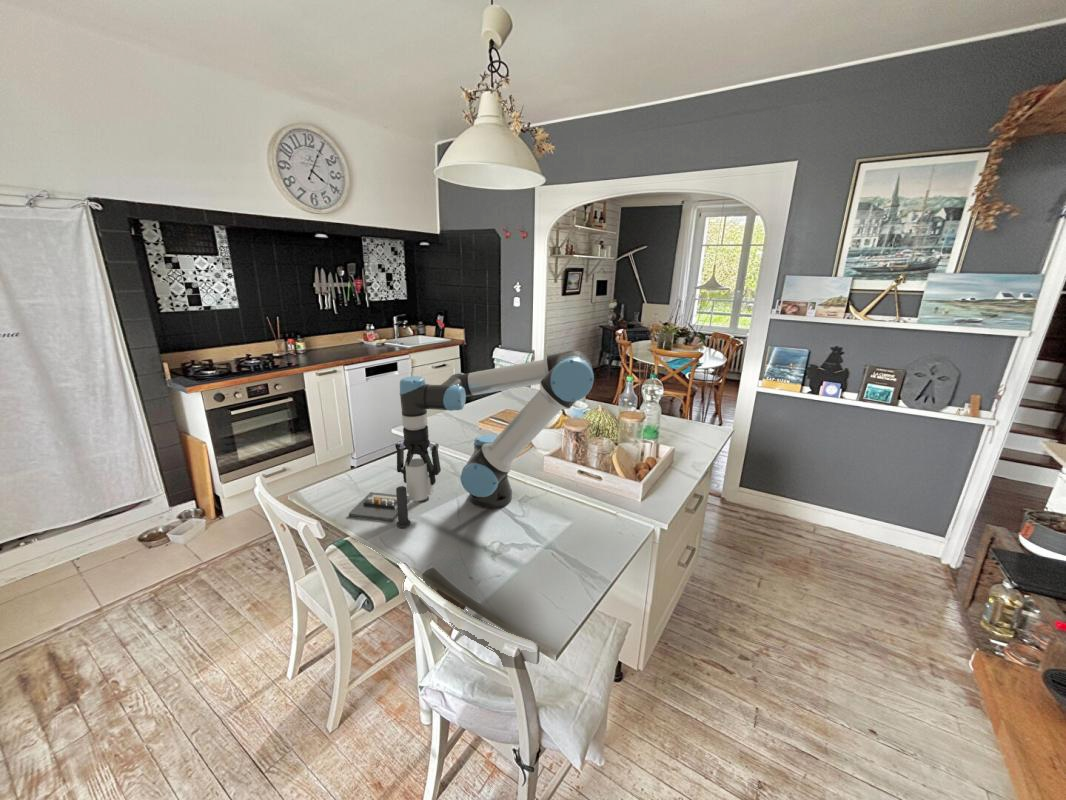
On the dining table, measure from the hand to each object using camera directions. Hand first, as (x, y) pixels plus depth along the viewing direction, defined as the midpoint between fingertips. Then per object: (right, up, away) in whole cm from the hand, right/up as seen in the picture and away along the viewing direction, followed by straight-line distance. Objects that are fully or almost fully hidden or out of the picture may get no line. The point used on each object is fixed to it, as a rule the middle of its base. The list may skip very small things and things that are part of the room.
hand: (420, 492), depth 138 cm
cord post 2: (-2, -5, +10) cm, 11 cm away
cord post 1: (-4, -9, -5) cm, 11 cm away
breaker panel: (-14, -6, +4) cm, 16 cm away
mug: (+1, -1, 0) cm, 1 cm away
